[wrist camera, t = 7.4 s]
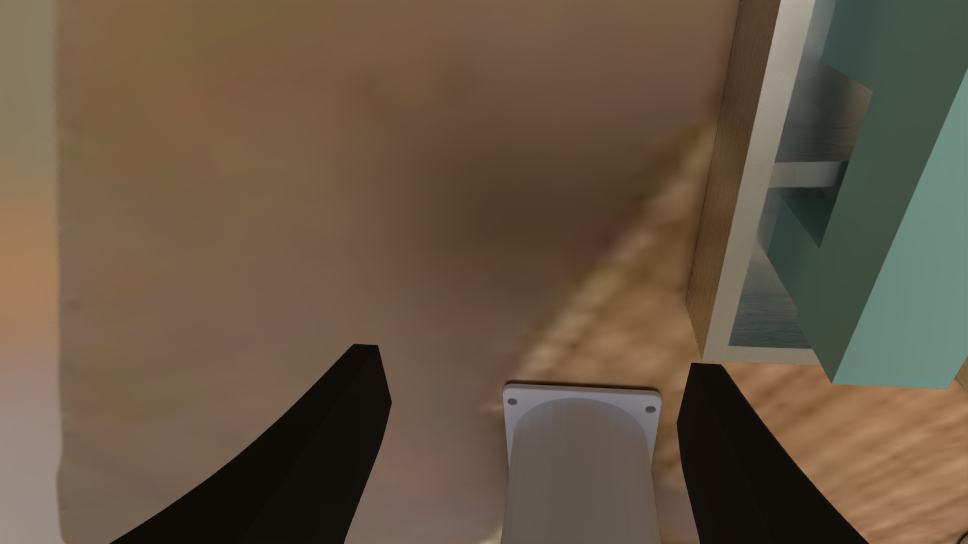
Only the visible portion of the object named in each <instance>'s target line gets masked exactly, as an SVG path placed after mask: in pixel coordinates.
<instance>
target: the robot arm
mask: <svg viewBox="0 0 968 544" xmlns="http://www.w3.org/2000/svg"><path fill="white" fill-rule="evenodd" d="M511 398H513V399H514V400H513V399H511ZM391 404H392V401H391V397H390V393H389V389H388V385H387V380H386V376H385V372H384V368H383V364H382V360H381V356H380V352H379V348H378V345H364V344H353V345H352V346H351V347H350V348H349V349H348V350H347V351H346V352H345V353H344V354H343V355H342V356H341V357H340V358H339V359H338V360H337V361H336V362H335V364H334V365H333V366H332V367H331V368H330V369H329V370H328V371H327V372H326V373H325V374H324V375H323V376H322V377H321V378H320V379H319V380H318V381H317V382H316V383H315V384H314V385H313V386H312V387H311V388H310V389H309V390H308V391H307V392H306V393H305V394H304V395H303V396H302V397H301V398H300V399H299V400H298V401H297V402H296V403H295V404H294V405H293V406H292V407H291V408H290V409H289V410H288V411H287V412H286V413H285V414H284V415H283V416H282V417H280V418H279V419H278V420H277V421H276V422H275V423H274V424H273V425H272V426H271V427H269V428H268V429H267V430H266V431H265V432H264V433H263V434H262V435H261V436H259V437H258V438H257V439H256V440H255V441H254V442H253V443H252V444H250V445H249V446H248V447H247V448H246V449H245V450H243V451H242V452H241V453H240V454H239V455H237V456H236V457H235V458H234V459H232V460H231V461H230V462H229V463H227V464H226V465H225V466H224V467H222V468H221V469H220V470H218V471H217V472H216V473H215V474H213V475H212V476H211V477H209V478H208V479H207V480H205V481H204V482H203V483H201V484H200V485H198V486H197V487H195V488H194V489H193V490H191V491H190V492H188V493H187V494H185V495H184V496H183V497H181V498H180V499H178V500H177V501H175V502H174V503H173V504H171V505H170V506H168V507H167V508H165V509H164V510H162V511H161V512H159V513H158V514H156V515H155V516H153V517H152V518H150V519H149V520H147V521H145V522H144V523H142V524H141V525H139V526H138V527H136V528H134V529H133V530H131V531H130V532H128V533H126V534H125V535H123V536H121V537H120V538H118V539H116V540H115V541H113V542H111V543H110V544H344V541H345V538H346V535H347V532H348V529H349V527H350V524H351V522H352V519H353V517H354V514H355V511H356V509H357V506H358V504H359V501H360V498H361V496H362V493H363V491H364V488H365V486H366V483H367V480H368V478H369V475H370V473H371V470H372V467H373V465H374V462H375V459H376V457H377V454H378V452H379V449H380V446H381V443H382V440H383V436H384V432H385V429H386V425H387V421H388V417H389V412H390V408H391ZM661 405H662V400H661V395H660V394H659V393H658V392H656V391H648V390H629V389H609V388H589V387H570V386H550V385H530V384H507V385H505V386H504V388H503V406H504V417H505V429H506V440H507V452H508V464H509V477H508V486H507V495H506V503H505V512H504V521H503V529H502V538H501V544H661V539H660V532H659V525H658V517H657V510H656V503H655V496H654V488H653V481H652V474H651V464H652V458H653V452H654V446H655V441H656V435H657V429H658V423H659V417H660V411H661ZM648 406H652V407H648ZM677 430H678V439H679V447H680V455H681V463H682V469H683V473H684V478H685V482H686V486H687V490H688V495H689V499H690V503H691V507H692V511H693V515H694V519H695V523H696V527H697V531H698V535H699V540H700V544H869V543H868V542H867V541H866V540H865V539H864V538H863V537H862V536H861V535H860V534H859V533H858V532H857V531H856V530H855V529H854V528H853V527H852V526H851V525H850V524H849V523H848V522H847V521H846V520H845V518H844V517H843V516H842V515H841V514H840V513H839V512H838V511H837V510H836V509H835V508H834V507H833V506H832V505H831V503H830V502H829V501H828V500H827V499H826V498H825V497H824V496H823V495H822V493H821V492H820V491H819V490H818V489H817V488H816V487H815V485H814V484H813V483H812V482H811V481H810V480H809V479H808V477H807V476H806V475H805V474H804V473H803V472H802V470H801V469H800V468H799V467H798V466H797V464H796V463H795V462H794V461H793V460H792V458H791V457H790V456H789V455H788V453H787V452H786V451H785V450H784V448H783V447H782V446H781V445H780V443H779V442H778V441H777V440H776V438H775V437H774V436H773V434H772V433H771V432H770V431H769V429H768V428H767V427H766V425H765V424H764V423H763V421H762V420H761V419H760V418H759V416H758V415H757V413H756V412H755V411H754V409H753V408H752V407H751V405H750V404H749V403H748V401H747V400H746V398H745V397H744V396H743V394H742V393H741V391H740V390H739V388H738V387H737V386H736V384H735V383H734V381H733V380H732V378H731V377H730V375H729V374H728V373H727V371H726V370H725V368H724V367H723V366H722V365H721V364H703V363H691V367H690V371H689V375H688V379H687V383H686V387H685V391H684V395H683V400H682V404H681V408H680V412H679V416H678V420H677Z"/></svg>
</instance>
